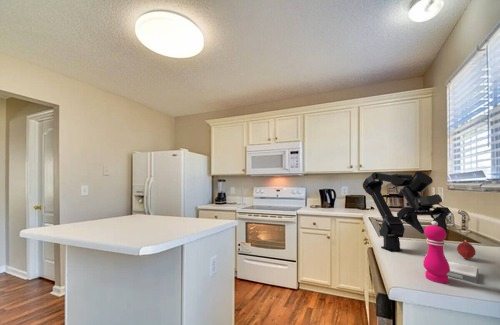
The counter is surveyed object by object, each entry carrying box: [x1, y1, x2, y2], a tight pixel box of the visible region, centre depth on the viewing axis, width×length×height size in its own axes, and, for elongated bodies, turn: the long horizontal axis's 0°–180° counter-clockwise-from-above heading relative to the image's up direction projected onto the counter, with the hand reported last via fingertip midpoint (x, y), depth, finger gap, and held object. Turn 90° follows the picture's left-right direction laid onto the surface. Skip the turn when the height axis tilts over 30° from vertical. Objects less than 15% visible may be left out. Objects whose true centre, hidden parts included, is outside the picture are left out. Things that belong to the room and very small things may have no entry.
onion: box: [456, 239, 477, 260], centre depth 100 cm, size 6×6×8 cm
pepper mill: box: [423, 220, 450, 284], centre depth 81 cm, size 7×7×20 cm
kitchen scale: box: [446, 260, 479, 284], centre depth 85 cm, size 11×11×2 cm
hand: (435, 233), depth 87 cm, fingers open, 9 cm apart
